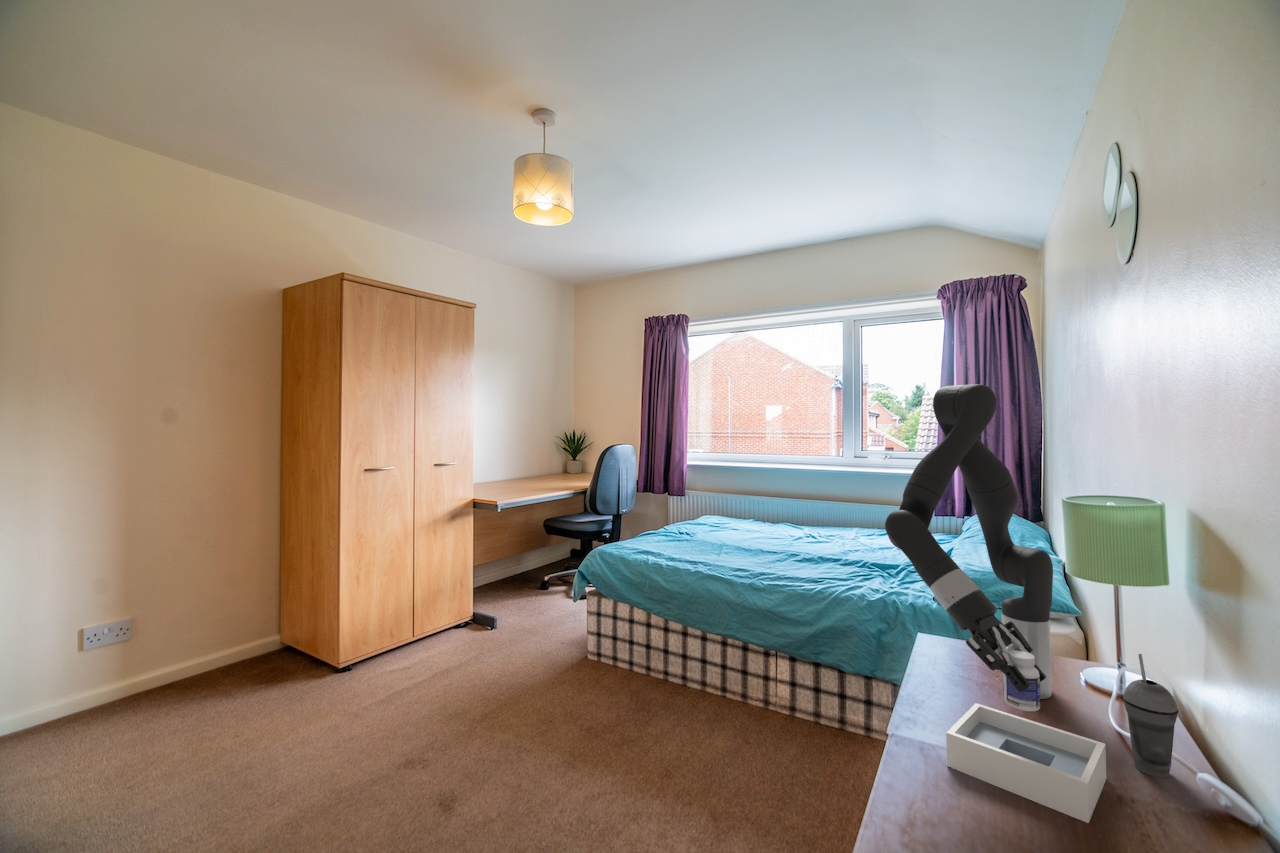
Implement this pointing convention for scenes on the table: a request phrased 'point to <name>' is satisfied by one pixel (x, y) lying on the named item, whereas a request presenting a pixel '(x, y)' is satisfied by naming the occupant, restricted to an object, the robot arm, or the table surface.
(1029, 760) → the bore box
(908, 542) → the robot arm
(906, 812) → the table surface
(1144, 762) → the beverage cup
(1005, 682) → the pill bottle
